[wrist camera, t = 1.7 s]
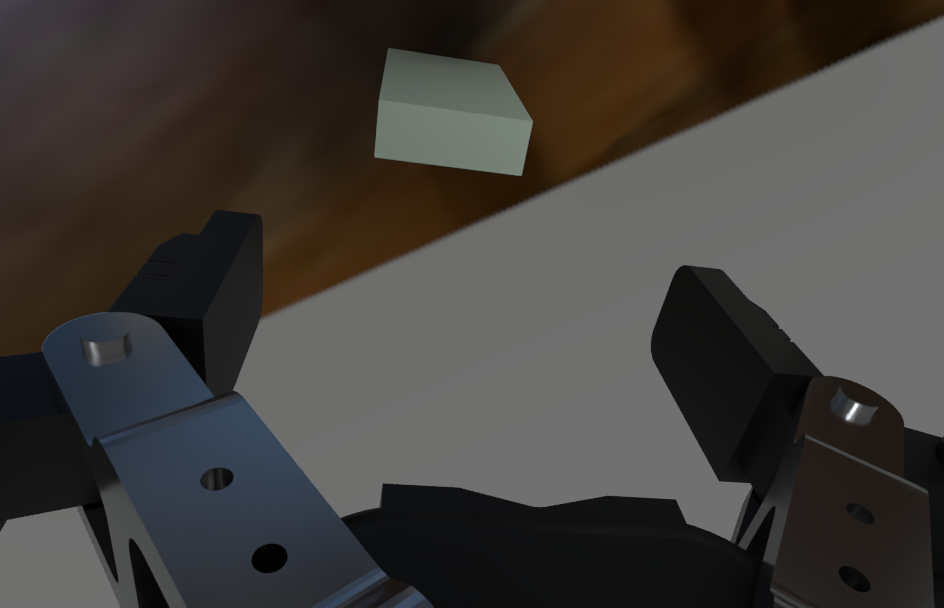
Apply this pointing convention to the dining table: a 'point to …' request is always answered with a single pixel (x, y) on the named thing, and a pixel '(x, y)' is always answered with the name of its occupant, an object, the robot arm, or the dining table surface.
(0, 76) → the dining table surface
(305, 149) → the dining table surface
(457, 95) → the domino
